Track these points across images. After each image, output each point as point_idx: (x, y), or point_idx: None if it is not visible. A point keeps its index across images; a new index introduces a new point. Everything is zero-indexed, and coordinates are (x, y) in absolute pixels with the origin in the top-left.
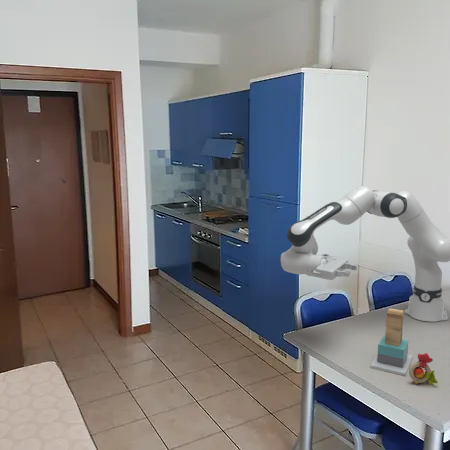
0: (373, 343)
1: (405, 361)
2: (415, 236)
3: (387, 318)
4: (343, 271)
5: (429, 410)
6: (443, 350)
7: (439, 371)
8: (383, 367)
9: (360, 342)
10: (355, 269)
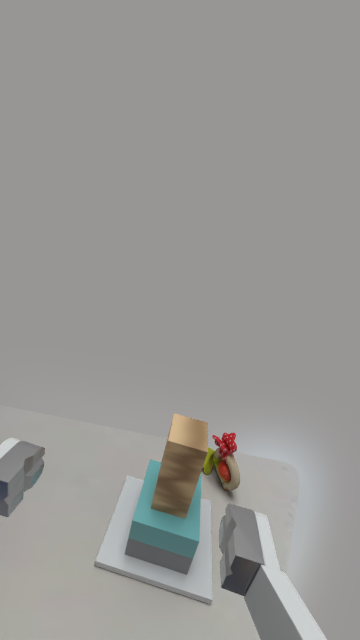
0: (37, 598)
1: None
2: None
3: (203, 462)
4: (281, 582)
5: (287, 478)
6: (92, 426)
7: None
8: (208, 553)
9: None
10: (43, 466)
